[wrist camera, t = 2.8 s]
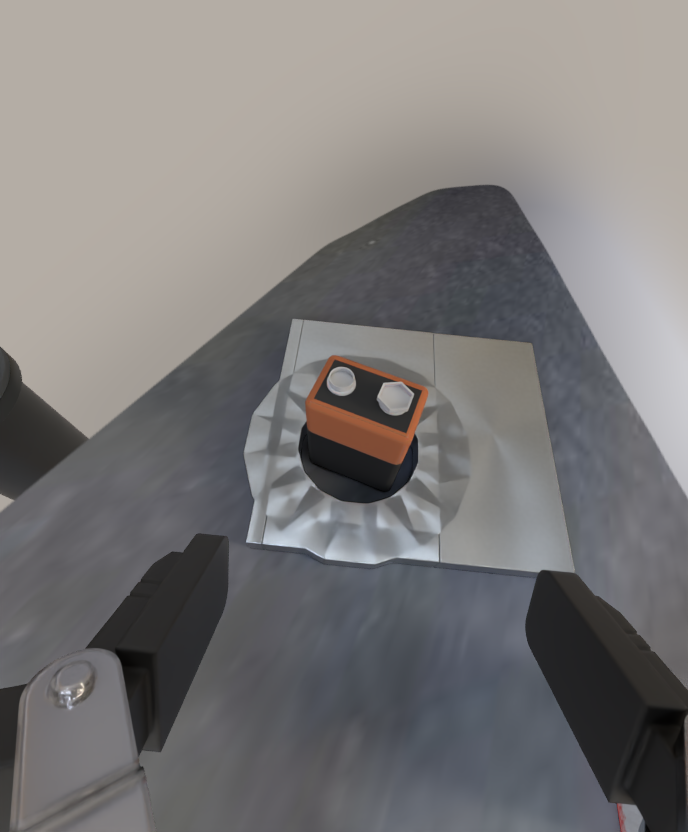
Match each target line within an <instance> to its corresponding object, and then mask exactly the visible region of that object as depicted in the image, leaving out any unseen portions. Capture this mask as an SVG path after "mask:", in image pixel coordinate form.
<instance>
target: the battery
mask: <svg viewBox="0 0 688 832" xmlns="http://www.w3.org/2000/svg"><path fill="white" fill-rule="evenodd" d="M427 397H428V390H427V388H426V387H424V386H422V385H419V384H416V383H413V382H411V381H408V380H405V379H402V378H399V377H396V376H394V375H391V374H388V373H385V372H382V371H380V370H377V369H374V368H371V367H368V366H366V365H363V364H360V363H357V362H354V361H352V360H349V359H346V358H343V357H340V356H337V355H332V356H330V357H329V359H328V360H327V362H326V364H325V366H324V367H323V369H322V371H321V373H320V375H319V377H318V378H317V380H316V382H315V384H314V386H313V388H312V389H311V391H310V393H309V395H308V397H307V399H306V401H305V408H306V421H307V434H308V447H309V458H310V460H311V461H312V462H313V463H315V464H317V465H320V466H322V467H325V468H327V469H330V470H332V471H335V472H337V473H340V474H342V475H345V476H347V477H349V478H352V479H354V480H357V481H359V482H362V483H364V484H367V485H369V486H372V487H374V488H377V489H379V490H382V491H388V490H389V489H390V488H391V486H392V484H393V482H394V480H395V477H396V475H397V473H398V471H399V468H400V466H401V464H402V462H403V460H404V457H405V455H406V453H407V451H408V448H409V446H410V444H411V442H412V439H413V436H414V434H415V431H416V428H417V425H418V423H419V420H420V417H421V414H422V411H423V409H424V406H425V403H426V400H427Z"/></svg>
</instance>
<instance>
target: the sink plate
mask: <svg viewBox="0 0 688 832" xmlns="http://www.w3.org/2000/svg"><path fill="white" fill-rule="evenodd" d="M332 355H337V356H340V357H343V358H346V359H349V360H352V361H354V362H357V363H360V364H363V365H366V366H368V367H371V368H374V369H377V370H380V371H382V372H385V373H388V374H391V375H394V376H396V377H399V378H402V379H405V380H408V381H411V382H413V383H416V384H419V385H422V386H424V387H426V388H427V390H428V397H427V400H426V403H425V406H424V409H423V411H422V414H421V417H420V420H419V423H418V425H417V428H416V431H415V434H414V436H413V439H412V442H411V444H410V445H411V447H412V449H413V472H412V474H411V476H410V478H409V480H408V482H407V483H406V484H405V485H404V486H403V487H401V488H400V489H399V490H398V491H397V492H395V493H394V494H393V495H392V496H391V497H388V498H384V499H381V500H377V501H374V502H371V503H357V502H348V501H341V500H339V499H337V498H335V497H333V496H331V495H330V494H328V493H326V492H324V491H322V490H320V489H319V488H318V487H317V485H316V484H315V483H314V482H313V480H312V479H311V478H310V477H309V476H308V474H307V473H306V472H305V470H304V467H303V463H302V459H301V450H302V443H303V439H304V437H305V436H306V434H307V421H306V408H305V401H306V399H307V397H308V395H309V393H310V391H311V389H312V388H313V386H314V384H315V382H316V380H317V378H318V377H319V375H320V373H321V371H322V369H323V367H324V366H325V364H326V362H327V360H328V359H329V357H330V356H332ZM243 456H244V461H245V466H246V471H247V476H248V481H249V486H250V491H251V495H252V498H253V500H254V504H253V509H252V514H251V519H250V524H249V528H248V533H247V538H246V543H247V544H248V546H249V547H250V548H252V549H262V550H265V549H266V550H272V551H282V552H292V553H301V554H307V555H309V556H310V557H312V558H314V559H316V560H317V561H319V562H321V563H323V564H327V565H336V566H346V567H355V568H365V569H375V568H378V567H381V566H384V565H387V564H390V563H398V564H407V565H417V566H426V567H436V568H446V569H455V570H465V571H475V572H484V573H494V574H503V575H513V576H523V577H532V578H537V576H538V574H539V572H540V571H541V570H552V571H562V572H572V573H575V570H574V564H573V559H572V554H571V548H570V543H569V538H568V532H567V527H566V522H565V516H564V511H563V506H562V501H561V495H560V490H559V485H558V479H557V474H556V469H555V463H554V458H553V453H552V447H551V442H550V437H549V431H548V426H547V421H546V416H545V410H544V405H543V400H542V394H541V389H540V384H539V378H538V373H537V368H536V362H535V357H534V352H533V346H532V343H526V342H516V341H506V340H496V339H486V338H476V337H466V336H457V335H447V334H437V333H434V334H433V333H429V332H419V331H409V330H399V329H389V328H379V327H370V326H360V325H350V324H340V323H330V322H320V321H310V320H300V319H292V323H291V328H290V332H289V337H288V342H287V347H286V352H285V356H284V361H283V366H282V371H281V375H280V380H279V381H278V382H277V383H276V384H275V385H274V386H273V388H272V389H271V390H270V392H269V393H268V394H267V396H266V397H265V398H264V400H263V401H262V402H261V404H260V405H259V406H258V408H257V409H256V410H255V412H254V413H253V415H252V418H251V422H250V427H249V431H248V435H247V439H246V443H245V447H244V452H243Z"/></svg>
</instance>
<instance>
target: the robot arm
mask: <svg viewBox="0 0 688 832" xmlns="http://www.w3.org/2000/svg"><path fill="white" fill-rule="evenodd" d="M228 562H229V540H228V537H227V536H219V535H209V534H199V533H198V534H196V535H195V537H194V538H193V539H192V541H191V542H190V544H189V545H188V546H187V548H186V549H185V550H184V552H183V553H181V552H171V553H169V554H168V555H166V556H165V557H163V558H161V559H160V560H158V561H157V562H155V563H154V564H153V565H152V566H151V567H150V569H149V570H148V571H147V572H146V574H145V575H144V576H143V577H142V579H141V582H138V584H137V585H136V586H135V587H134V589H133V590H132V591H131V592H130V596H127V597H126V598H125V600H124V601H123V602H122V603H121V605H120V606H119V607H118V608H117V610H116V611H115V612H114V613H113V615H112V616H111V617H110V618H109V620H108V621H107V622H106V623H105V625H104V626H103V627H102V628H101V630H100V631H99V632H98V633H97V635H96V636H95V637H94V638H93V640H92V641H91V642H90V643H89V645H88V646H87V647H86V648H85V649H83V650H79V651H75V652H72V653H69V654H67V655H64V656H62V657H60V658H58V659H56V660H55V661H53V662H52V663H50V664H48V665H47V666H46V667H44V668H43V669H42V670H40V671H39V672H38V673H37V674H36V675H35V676H34V677H33V678H32V679H31V681H30V682H29V683H28V684H24V685H19V686H14V687H9V688H3V689H0V832H157V831H156V826H155V821H154V816H153V810H152V805H151V800H150V795H149V789H148V784H147V780H146V775H145V771H144V768H143V766H142V767H140V763H139V758H138V757H139V755H140V753H141V751H142V750H144V751H154V752H161V750H162V748H163V746H164V744H165V741H166V739H167V737H168V735H169V732H170V730H171V728H172V726H173V723H174V721H175V719H176V717H177V714H178V712H179V710H180V708H181V705H182V703H183V701H184V699H185V696H186V694H187V692H188V690H189V687H190V685H191V683H192V681H193V678H194V676H195V674H196V672H197V669H198V667H199V665H200V663H201V660H202V658H203V656H204V654H205V651H206V649H207V647H208V645H209V642H210V640H211V638H212V636H213V633H214V631H215V629H216V627H217V624H218V622H219V620H220V618H221V615H222V613H223V610H224V607H225V603H226V599H227V592H228ZM525 628H526V637H527V641H528V644H529V647H530V649H531V651H532V653H533V655H534V657H535V659H536V661H537V663H538V665H539V667H540V669H541V671H542V672H543V674H544V676H545V678H546V680H547V682H548V684H549V686H550V688H551V690H552V692H553V694H554V696H555V698H556V700H557V702H558V704H559V706H560V708H561V710H562V712H563V714H564V716H565V718H566V720H567V722H568V723H569V725H570V727H571V729H572V731H573V733H574V735H575V737H576V739H577V741H578V743H579V745H580V747H581V749H582V751H583V753H584V755H585V757H586V759H587V761H588V763H589V765H590V767H591V769H592V771H593V773H594V774H595V776H596V778H597V780H598V782H599V784H600V786H601V788H602V790H603V792H604V794H605V796H606V798H607V800H608V802H610V803H620V804H629V805H636V806H637V808H638V810H639V812H640V814H641V815H642V817H643V819H642V821H641V824H640V826H639V830H638V832H688V690H687V689H686V688H685V687H684V686H683V684H682V683H681V682H680V681H679V680H678V679H677V677H676V676H675V675H674V674H673V673H672V672H671V671H670V669H669V668H668V667H667V666H666V665H665V664H664V662H663V661H662V660H661V659H660V658H659V657H658V656H657V654H656V653H655V652H653V651H651V649H650V646H649V645H648V644H647V643H646V642H645V641H644V639H643V638H642V637H641V636H640V635H637V631H636V630H635V629H634V628H633V627H632V626H631V624H630V623H629V622H628V621H627V620H626V619H625V618H624V616H623V615H622V614H621V613H620V612H619V611H617V610H616V609H615V608H613V607H612V606H611V605H609V604H608V603H607V602H605V601H604V600H603V599H601V598H600V597H599V596H595V595H594V594H593V593H592V592H591V591H590V589H589V588H588V587H587V586H586V584H585V583H584V582H583V581H582V580H581V578H580V577H579V576H578V575H577V574H575V573H572V572H562V571H552V570H541V571H540V572H539V574H538V576H537V579H536V583H535V586H534V590H533V594H532V598H531V602H530V606H529V609H528V613H527V617H526V624H525Z"/></svg>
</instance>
